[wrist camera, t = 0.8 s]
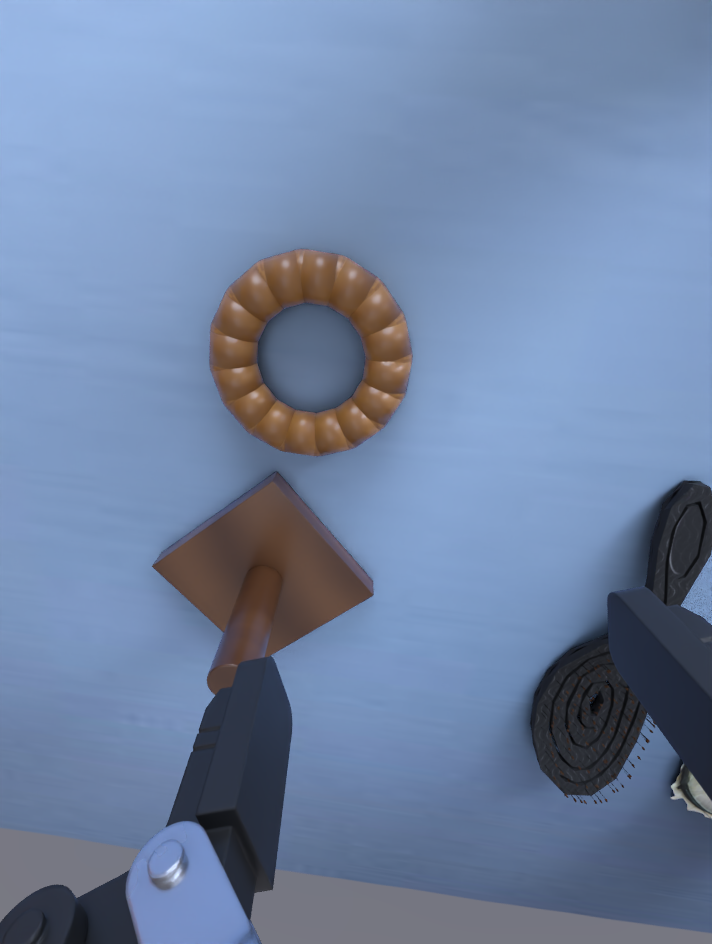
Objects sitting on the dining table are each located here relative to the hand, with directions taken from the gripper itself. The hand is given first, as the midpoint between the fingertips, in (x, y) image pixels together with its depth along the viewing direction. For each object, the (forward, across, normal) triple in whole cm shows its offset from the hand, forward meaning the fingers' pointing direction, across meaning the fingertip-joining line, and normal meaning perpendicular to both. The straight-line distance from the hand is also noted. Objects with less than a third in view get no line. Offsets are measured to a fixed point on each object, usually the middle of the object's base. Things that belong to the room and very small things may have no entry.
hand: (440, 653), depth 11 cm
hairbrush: (+18, -13, +18) cm, 28 cm away
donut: (+16, +3, -6) cm, 17 cm away
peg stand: (+18, +9, +7) cm, 22 cm away
